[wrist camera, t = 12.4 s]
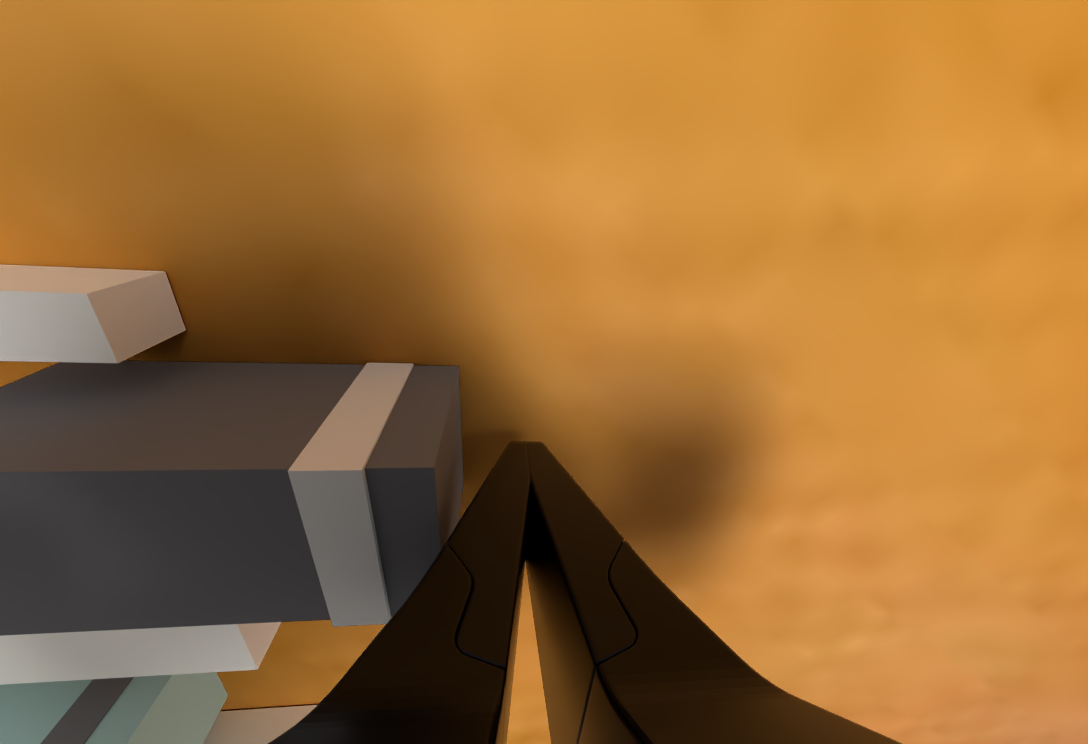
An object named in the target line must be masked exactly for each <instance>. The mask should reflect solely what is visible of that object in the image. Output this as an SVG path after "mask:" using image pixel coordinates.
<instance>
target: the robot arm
mask: <svg viewBox="0 0 1088 744" xmlns="http://www.w3.org/2000/svg"><path fill="white" fill-rule="evenodd" d="M525 561H526V568H527V575H528V582H529V589H530V596H531V603H532V610H533V617H534V624H535V631H536V638H537V646H538V653H539V660H540V667H541V674H542V681H543V688H544V695H545V702H546V709H547V716H548V723H549V730H550V737H551V744H902V743H900V742H897V741H895V740H893V739H891V738H888V737H886V736H884V735H882V734H879V733H877V732H875V731H872V730H870V729H868V728H866V727H863V726H861V725H859V724H857V723H854V722H852V721H850V720H848V719H845V718H843V717H841V716H838V715H836V714H834V713H832V712H829V711H827V710H825V709H823V708H820V707H818V706H816V705H813V704H811V703H809V702H807V701H804V700H802V699H800V698H798V697H795V696H793V695H791V694H789V693H787V692H785V691H784V690H782V689H780V688H779V687H777V686H775V685H774V684H772V683H771V682H770V681H768V680H767V679H765V678H764V677H762V676H761V675H760V674H759V673H757V672H756V671H755V670H754V669H752V668H751V667H750V666H749V665H748V664H747V663H746V662H745V661H743V660H742V659H741V658H740V657H739V656H738V655H737V654H736V653H735V652H734V651H733V650H732V649H731V648H730V647H729V646H728V645H727V644H726V643H724V642H723V641H722V640H721V639H720V638H719V637H718V636H717V635H716V634H715V633H714V632H713V631H712V630H711V629H710V628H709V627H708V626H707V625H706V624H705V623H704V622H703V621H702V620H701V619H700V618H699V617H698V616H697V615H695V614H694V613H693V612H692V611H691V610H690V609H689V608H688V607H687V606H686V605H685V604H684V603H683V602H682V601H681V600H680V599H679V598H678V597H677V596H676V595H675V594H674V593H673V592H672V591H671V590H670V589H669V588H668V587H667V586H666V585H665V584H664V583H663V582H662V581H661V580H660V579H659V578H658V577H657V576H656V575H655V574H654V573H653V571H652V570H651V569H650V568H649V567H648V566H647V565H646V564H645V562H644V561H643V560H642V559H641V558H640V557H639V556H638V555H637V553H636V552H635V551H634V550H633V549H632V548H631V546H630V545H629V544H628V543H627V542H626V541H624V539H623V537H622V536H621V535H620V534H619V532H618V531H617V530H616V529H615V528H614V526H613V525H612V524H611V523H610V522H609V521H608V519H607V518H606V517H605V516H604V515H603V513H602V512H601V511H600V510H599V509H598V508H597V506H596V505H595V504H594V503H593V502H592V500H591V499H590V498H589V497H588V496H587V495H586V493H585V492H584V491H583V490H582V489H581V487H580V486H579V485H578V484H577V483H576V482H575V480H574V479H573V478H572V477H571V476H570V474H569V473H568V472H567V471H566V470H565V469H564V467H563V466H562V465H561V464H560V463H559V461H558V460H557V459H556V458H555V457H554V456H553V454H552V453H551V452H550V451H549V450H548V448H547V447H546V446H545V445H544V444H543V443H542V442H510V443H509V444H508V445H507V447H506V448H505V450H504V451H503V453H502V454H501V456H500V458H499V459H498V461H497V462H496V464H495V466H494V467H493V469H492V470H491V472H490V473H489V475H488V477H487V478H486V480H485V481H484V483H483V484H482V486H481V488H480V489H479V491H478V492H477V494H476V496H475V497H474V499H473V500H472V502H471V503H470V505H469V507H468V508H467V510H466V511H465V513H464V514H463V516H462V518H461V519H460V521H459V522H458V524H457V526H456V527H455V529H454V530H453V532H452V533H451V535H450V537H449V538H448V540H447V541H446V544H445V545H444V546H443V547H442V549H441V550H440V552H439V554H438V555H437V557H436V558H435V560H434V561H433V563H432V564H431V566H430V567H429V569H428V570H427V572H426V573H425V575H424V576H423V578H422V579H421V580H420V582H419V583H418V585H417V586H416V587H415V589H414V590H413V591H412V592H411V594H410V595H409V596H408V598H407V599H406V600H405V601H404V603H403V604H402V605H401V607H400V608H399V609H398V610H397V612H396V613H395V614H394V615H393V617H392V618H391V619H390V620H389V621H388V623H387V624H386V625H385V626H384V628H383V629H382V630H381V631H380V632H379V634H378V635H377V636H376V637H375V639H374V640H373V641H372V642H371V643H370V645H369V646H368V647H367V648H366V650H365V651H364V652H363V653H362V654H361V656H360V657H359V658H358V659H357V661H356V662H355V663H354V664H353V665H352V667H351V668H350V669H349V670H348V672H347V673H346V674H345V675H344V676H343V678H342V679H341V680H340V681H339V682H338V684H337V685H336V686H335V687H334V688H333V689H332V691H331V692H330V693H329V694H328V695H327V696H326V697H325V698H324V699H323V700H322V701H321V702H320V703H319V704H318V705H317V706H316V707H315V708H314V709H313V710H312V711H311V712H310V713H309V714H308V715H306V716H305V717H304V718H303V719H302V720H300V721H299V722H298V723H297V724H296V725H294V726H293V727H292V728H290V729H289V730H287V731H286V732H284V733H283V734H281V735H280V736H278V737H277V738H275V739H274V740H273V741H271V742H270V743H268V744H506V742H507V732H508V723H509V713H510V703H511V693H512V684H513V674H514V664H515V654H516V645H517V635H518V625H519V615H520V605H521V596H522V586H523V576H524V566H525Z"/></svg>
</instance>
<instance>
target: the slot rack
mask: <svg viewBox="0 0 1088 744" xmlns="http://www.w3.org/2000/svg"><path fill="white" fill-rule="evenodd" d="M185 330H186V329H185V326H184V323H183V320H182V317H181V315H180V312H179V309H178V306H177V303H176V300H175V298H174V295H173V292H172V289H171V286H170V284H169V281H168V278H167V275H166V272H165V271H146V270H122V269H98V268H75V267H51V266H27V265H4V264H0V361H26V362H78V363H120V362H122V361H124V360H126V359H128V358H130V357H132V356H134V355H136V354H138V353H140V352H142V351H144V350H146V349H148V348H150V347H152V346H154V345H157V344H159V343H161V342H163V341H165V340H167V339H169V338H171V337H173V336H175V335H177V334H179V333H181V332H183V331H185ZM280 624H281V622H270V623H249V624H229V625H208V626H188V627H167V628H147V629H126V630H105V631H85V632H64V633H44V634H23V635H3V636H0V685H3V684H20V683H38V682H55V681H72V680H89V679H106V678H124V677H141V676H158V675H175V674H192V673H210V672H227V671H244V670H258V668H259V666H260V664H261V662H262V660H263V658H264V656H265V654H266V652H267V650H268V648H269V646H270V644H271V642H272V640H273V638H274V636H275V634H276V632H277V630H278V628H279V626H280ZM316 706H317V705H308V706H293V707H278V708H264V709H249V710H234V711H220V712H219V714H218V716H217V718H216V720H215V722H214V724H213V726H212V727H211V729H210V731H209V733H208V735H207V737H206V739H205V741H204V742H203V744H268V743H270V742H271V741H273V740H274V739H275V738H277V737H278V736H280V735H281V734H283V733H284V732H286V731H287V730H289V729H290V728H292V727H293V726H294V725H296V724H297V723H298V722H299V721H300V720H302V719H303V718H304V717H305V716H306V715H308V714H309V713H310V712H311V711H312V710H313V709H314V708H315V707H316Z"/></svg>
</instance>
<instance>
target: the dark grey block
mask: <svg viewBox="0 0 1088 744" xmlns="http://www.w3.org/2000/svg"><path fill="white" fill-rule="evenodd" d="M463 484H464V483H463V458H462V432H461V407H460V382H459V366H422V365H414V363H367V364H366V365H360V364H297V363H235V362H173V361H122V362H120V363H78V362H59V363H57V364H55V365H52V366H50V367H47V368H45V369H43V370H40V371H38V372H36V373H33V374H31V375H28V376H26V377H24V378H21V379H19V380H17V381H14V382H12V383H9V384H7V385H5V386H2V387H0V636H3V635H23V634H44V633H64V632H85V631H105V630H126V629H147V628H167V627H188V626H208V625H229V624H249V623H270V622H290V621H311V620H331V622H332V625H333V627H335V626H355V625H374V624H387V623H388V621H389V620H390V619H391V618H392V617H393V615H394V614H395V613H396V612H397V610H398V609H399V608H400V607H401V605H402V604H403V603H404V601H405V600H406V599H407V598H408V596H409V595H410V594H411V592H412V591H413V590H414V589H415V587H416V586H417V585H418V583H419V582H420V580H421V579H422V578H423V576H424V575H425V573H426V572H427V570H428V569H429V567H430V566H431V564H432V563H433V561H434V560H435V558H436V557H437V555H438V554H439V552H440V550H441V549H442V547H443V546H444V545H445V544H446V541H447V540H448V538H449V537H450V535H451V533H452V532H453V530H454V529H455V527H456V526H457V524H458V521H459V514H460V507H461V499H462V492H463Z"/></svg>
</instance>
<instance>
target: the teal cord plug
mask: <svg viewBox="0 0 1088 744" xmlns="http://www.w3.org/2000/svg"><path fill="white" fill-rule="evenodd" d="M227 697H228V694H227V692H226V690H225V688H224V686H223V684H222V682H221V680H220V678H219V676H218V674H217V672H210V673H192V674H175V675H158V676H141V677H124V678H106V679H89V680H72V681H55V682H38V683H20V684H3V685H0V744H203V742H204V741H205V739H206V737H207V735H208V733H209V731H210V729H211V727H212V726H213V724H214V722H215V720H216V718H217V716H218V714H219V712H220V711H221V709H222V707H223V705H224V703H225V701H226V699H227Z"/></svg>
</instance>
